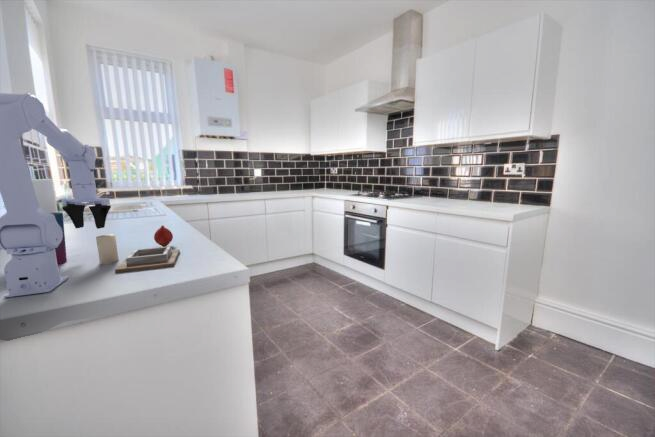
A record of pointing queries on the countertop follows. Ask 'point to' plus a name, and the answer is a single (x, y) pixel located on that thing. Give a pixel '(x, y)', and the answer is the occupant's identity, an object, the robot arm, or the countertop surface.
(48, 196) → the cylindrical container
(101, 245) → the roll
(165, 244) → the red round fruit
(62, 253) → the cup
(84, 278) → the countertop surface
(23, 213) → the robot arm
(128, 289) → the countertop surface
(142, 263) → the holder
